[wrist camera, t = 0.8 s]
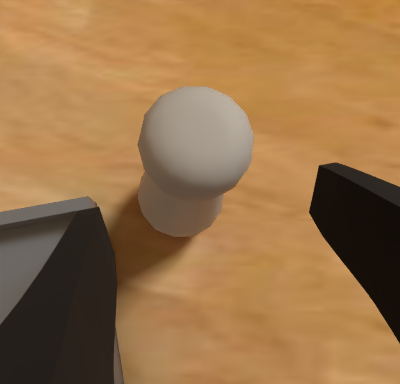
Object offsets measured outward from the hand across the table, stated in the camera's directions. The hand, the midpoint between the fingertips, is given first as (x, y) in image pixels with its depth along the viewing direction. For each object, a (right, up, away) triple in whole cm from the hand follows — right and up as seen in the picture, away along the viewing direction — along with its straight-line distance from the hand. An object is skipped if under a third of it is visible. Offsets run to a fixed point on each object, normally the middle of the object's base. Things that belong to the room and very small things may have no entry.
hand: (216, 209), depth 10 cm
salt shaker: (-2, 0, +13) cm, 13 cm away
